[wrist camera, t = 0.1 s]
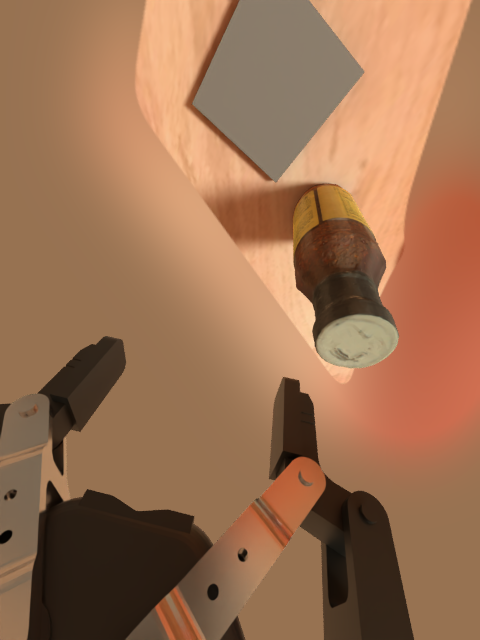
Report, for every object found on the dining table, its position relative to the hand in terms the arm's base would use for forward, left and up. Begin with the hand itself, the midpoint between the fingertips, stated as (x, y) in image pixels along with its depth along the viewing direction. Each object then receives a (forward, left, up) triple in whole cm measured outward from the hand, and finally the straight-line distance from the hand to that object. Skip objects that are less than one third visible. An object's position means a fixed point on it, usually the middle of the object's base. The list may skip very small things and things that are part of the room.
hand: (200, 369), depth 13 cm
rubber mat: (-8, -5, -22) cm, 25 cm away
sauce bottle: (-4, +6, -23) cm, 24 cm away
